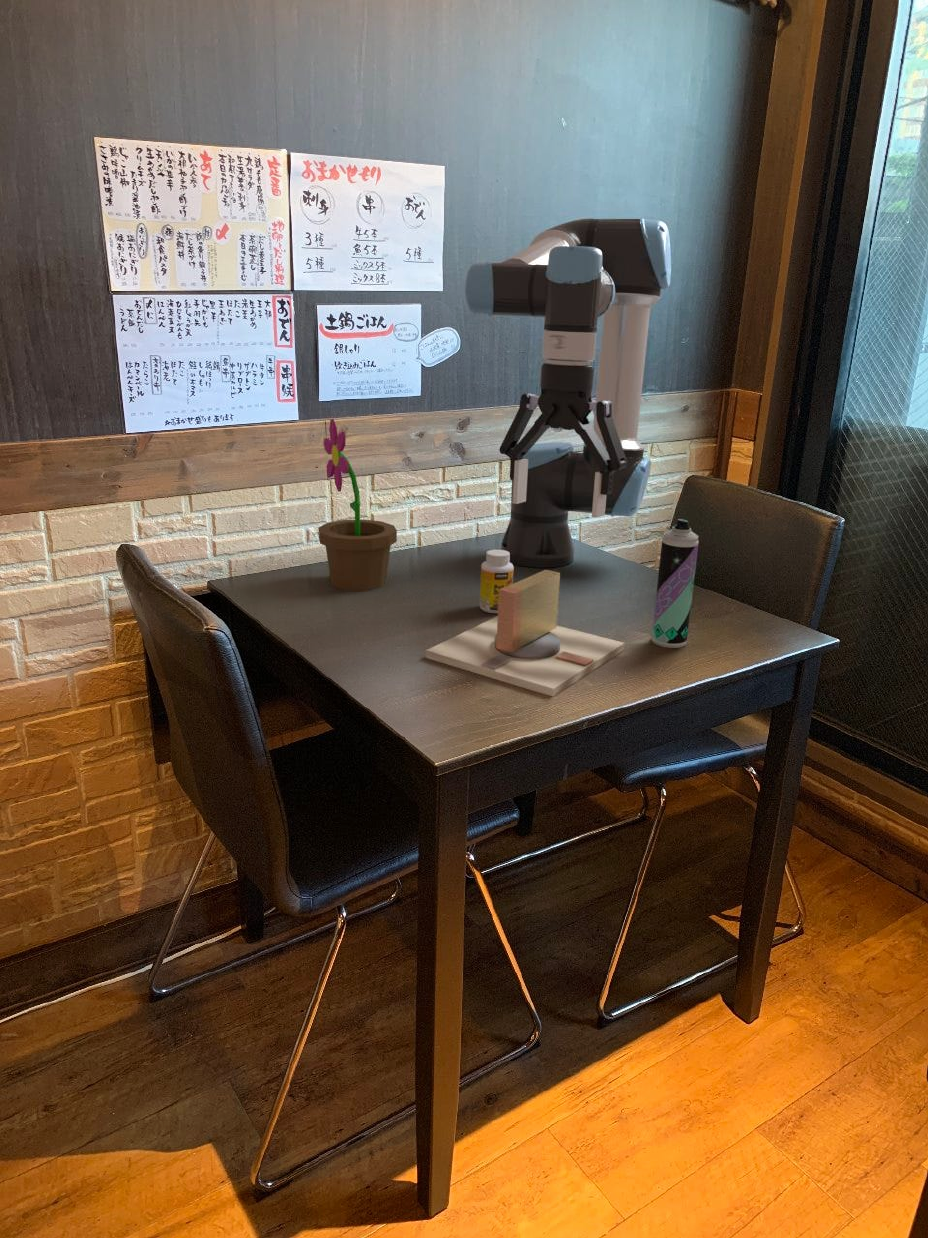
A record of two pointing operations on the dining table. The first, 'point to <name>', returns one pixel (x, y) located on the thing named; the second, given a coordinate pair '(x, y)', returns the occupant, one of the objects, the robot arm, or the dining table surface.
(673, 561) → the spray can
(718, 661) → the dining table surface
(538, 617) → the tan rectangular block
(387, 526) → the flowerpot
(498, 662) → the board
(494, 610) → the supplement bottle
